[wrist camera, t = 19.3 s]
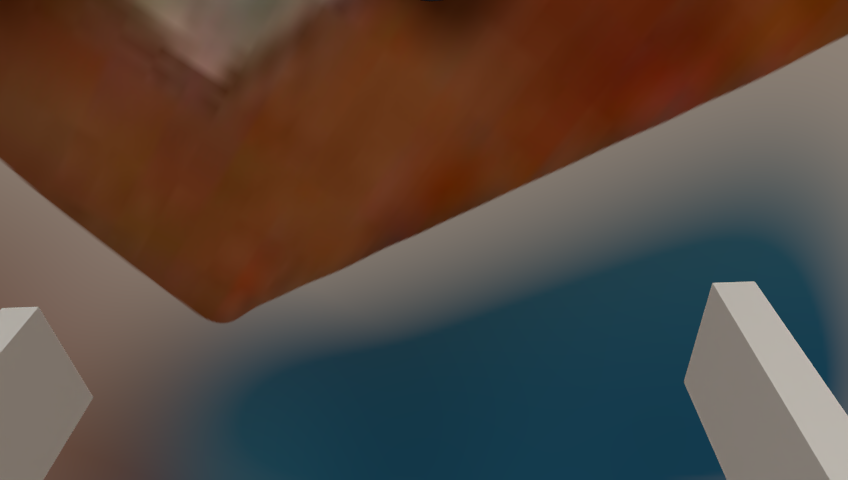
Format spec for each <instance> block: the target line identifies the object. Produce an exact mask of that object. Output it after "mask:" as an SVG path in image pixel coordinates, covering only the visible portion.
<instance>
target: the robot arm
mask: <svg viewBox="0 0 848 480" xmlns="http://www.w3.org/2000/svg"><path fill="white" fill-rule="evenodd" d="M684 383H685V386H686V388H687V390H688V392H689V395H690V397H691V399H692V401H693V404H694V406H695V408H696V411H697V413H698V415H699V417H700V420H701V422H702V424H703V426H704V429H705V431H706V433H707V436H708V438H709V440H710V443H711V445H712V447H713V449H714V451H715V454H716V456H717V458H718V460H719V463H720V465H721V468H722V470H723V472H724V474H725V477H726V479H727V480H848V416H847V414H846V413H845V411H844V410H843V409H842V407H841V406H840V404H839V403H838V401H837V400H836V398H835V397H834V396H833V394H832V393H831V391H830V390H829V388H828V387H827V385H826V384H825V383H824V381H823V380H822V378H821V377H820V375H819V374H818V372H817V371H816V370H815V368H814V367H813V365H812V364H811V362H810V361H809V360H808V358H807V357H806V355H805V354H804V352H803V351H802V349H801V348H800V346H799V345H798V343H796V341H795V339H794V338H793V336H792V335H791V333H790V332H789V330H788V329H787V328H786V326H785V325H784V323H783V322H782V321H781V319H780V317H779V316H778V315H777V313H776V312H775V310H774V309H773V307H772V306H771V304H770V303H769V302H768V300H767V299H766V297H765V296H764V294H763V293H762V291H761V290H760V289H759V287H758V286H757V284H756V283H755V282H726V283H712V287H711V290H710V293H709V297H708V300H707V304H706V307H705V311H704V314H703V317H702V321H701V324H700V328H699V331H698V335H697V338H696V342H695V345H694V349H693V352H692V356H691V359H690V362H689V366H688V369H687V373H686V376H685V380H684ZM92 399H93V396H92V394H91V393H90V391H89V389H88V388H87V386H86V384H85V383H84V381H83V379H82V378H81V376H80V374H79V373H78V371H77V369H76V368H75V366H74V365H73V363H72V361H71V359H70V358H69V356H68V355H67V353H66V351H65V350H64V348H63V346H62V345H61V343H60V341H59V340H58V338H57V336H56V335H55V333H54V331H53V330H52V328H51V326H50V325H49V323H48V321H47V320H46V318H45V316H44V315H43V313H42V311H41V310H40V308H39V307H19V308H2V309H1V310H0V480H43V479H44V478H45V476H46V474H47V473H48V471H49V470H50V468H51V466H52V465H53V463H54V461H55V460H56V458H57V456H58V455H59V453H60V451H61V450H62V448H63V446H64V445H65V443H66V442H67V440H68V438H69V437H70V435H71V433H72V432H73V430H74V428H75V427H76V425H77V423H78V422H79V420H80V418H81V417H82V415H83V413H84V412H85V410H86V409H87V407H88V405H89V404H90V402H91V400H92Z"/></svg>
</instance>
